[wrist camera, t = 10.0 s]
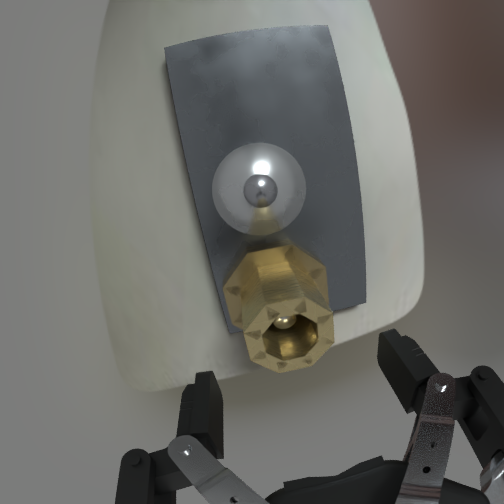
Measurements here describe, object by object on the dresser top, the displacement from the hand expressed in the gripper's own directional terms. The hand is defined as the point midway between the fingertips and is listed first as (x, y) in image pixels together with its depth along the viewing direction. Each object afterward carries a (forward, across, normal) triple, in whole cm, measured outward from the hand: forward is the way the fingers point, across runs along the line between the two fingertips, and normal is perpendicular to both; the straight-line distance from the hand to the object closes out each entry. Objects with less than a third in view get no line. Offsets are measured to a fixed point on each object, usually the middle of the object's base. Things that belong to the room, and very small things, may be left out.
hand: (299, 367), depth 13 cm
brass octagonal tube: (+9, 0, 0) cm, 9 cm away
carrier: (+10, -2, -7) cm, 12 cm away
